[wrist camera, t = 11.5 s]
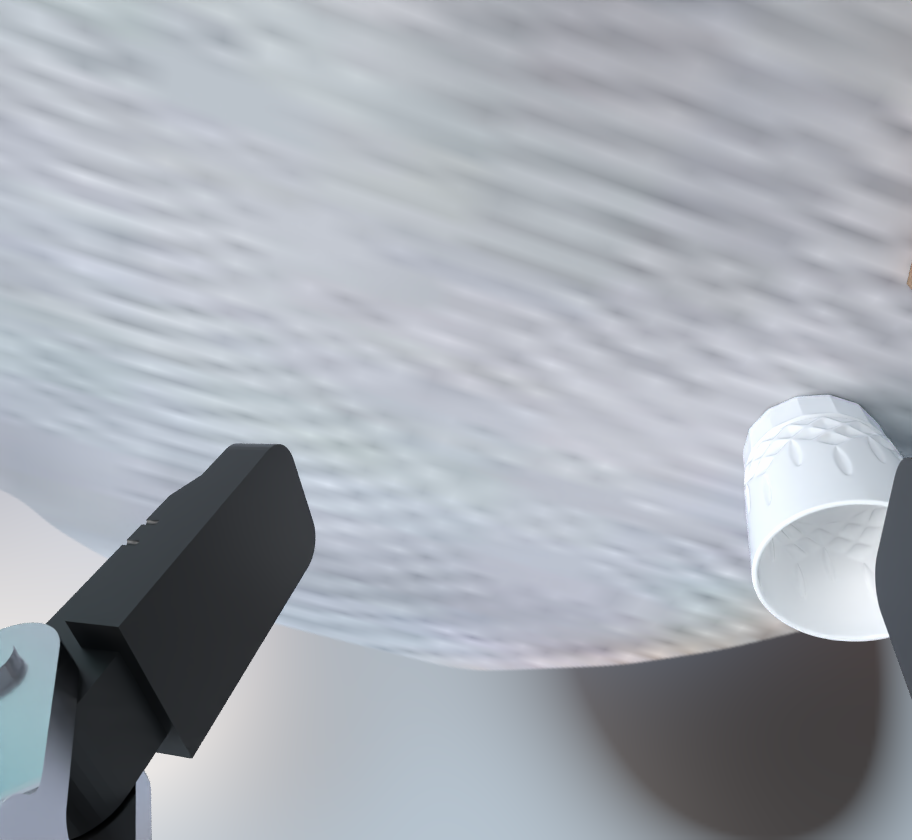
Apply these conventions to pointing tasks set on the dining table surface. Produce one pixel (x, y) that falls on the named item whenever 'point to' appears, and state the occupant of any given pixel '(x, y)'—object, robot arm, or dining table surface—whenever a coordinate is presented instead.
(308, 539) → the robot arm
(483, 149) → the dining table surface
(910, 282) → the bottle rest
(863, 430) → the white cup
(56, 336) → the dining table surface
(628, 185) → the dining table surface
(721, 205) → the dining table surface
